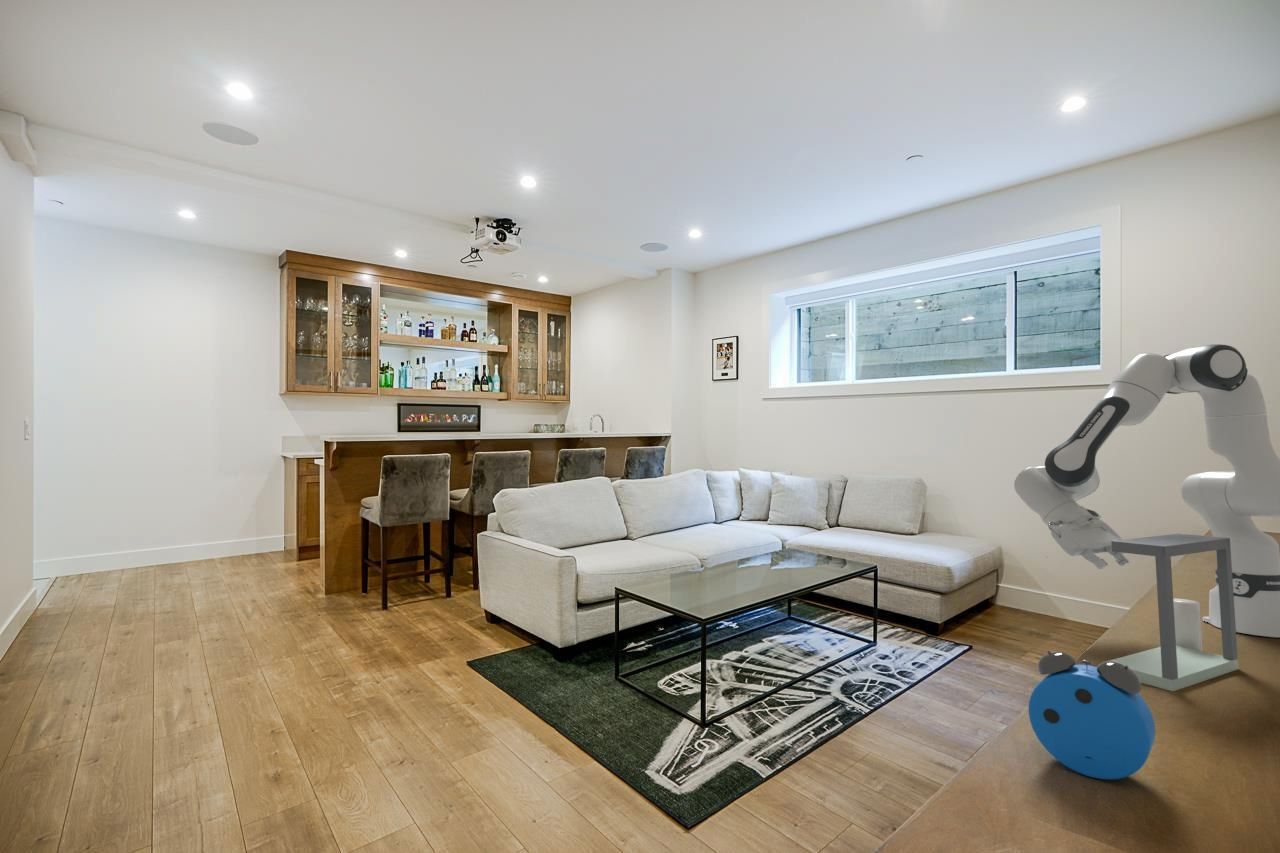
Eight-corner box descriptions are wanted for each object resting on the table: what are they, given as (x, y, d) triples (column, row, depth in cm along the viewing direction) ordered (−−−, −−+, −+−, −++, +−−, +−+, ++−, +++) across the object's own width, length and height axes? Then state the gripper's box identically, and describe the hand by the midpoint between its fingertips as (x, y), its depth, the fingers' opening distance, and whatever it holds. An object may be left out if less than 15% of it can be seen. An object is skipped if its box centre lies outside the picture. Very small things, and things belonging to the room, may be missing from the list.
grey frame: (1170, 653, 129) (1163, 532, 131) (1238, 669, 119) (1229, 538, 121) (1103, 672, 117) (1096, 539, 119) (1173, 691, 108) (1164, 546, 109)
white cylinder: (1175, 647, 133) (1172, 597, 134) (1207, 654, 129) (1204, 602, 129) (1163, 650, 131) (1160, 599, 132) (1195, 657, 126) (1192, 605, 127)
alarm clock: (1158, 780, 78) (1152, 663, 79) (1152, 799, 73) (1145, 674, 74) (1040, 746, 87) (1036, 642, 88) (1029, 761, 83) (1024, 651, 84)
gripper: (1053, 514, 145) (1101, 560, 135) (1100, 511, 154) (1147, 554, 144) (1035, 530, 149) (1080, 577, 139) (1082, 527, 158) (1127, 570, 148)
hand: (1115, 565), depth 142 cm, fingers open, 8 cm apart
